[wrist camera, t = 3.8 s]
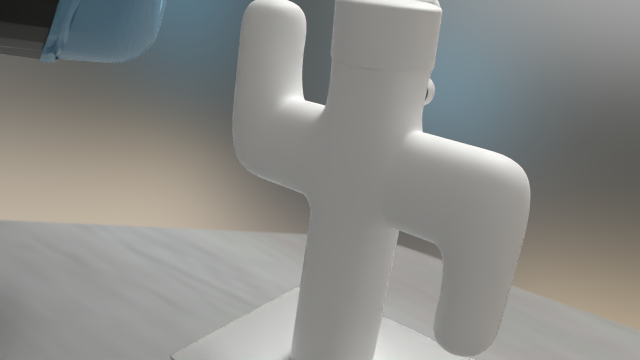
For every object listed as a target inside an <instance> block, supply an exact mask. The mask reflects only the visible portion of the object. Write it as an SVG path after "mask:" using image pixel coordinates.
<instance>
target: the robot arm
mask: <svg viewBox="0 0 640 360" xmlns="http://www.w3.org/2000/svg"><path fill="white" fill-rule="evenodd" d="M165 4H166V0H0V54H6V55H13V56H20V57H28V58H35V59H40V60H41V61H42V62H46V63H48V62H51V63H52V62H55V61H56V60H57V59H68V60H83V61H96V62H108V63H120V62H126V61H130V60H133V59H134V58H136V57H138V56H139V55H141V54H143V53H144V52H146V51H147V50H148V49H149V47H150V46H151V45H152V43H153V42H154V40H155V38H156V36H157V34H158V31H159V27H160V24H161V20H162V17H163V13H164V8H165Z"/></svg>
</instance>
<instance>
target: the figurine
mask: <svg viewBox="0 0 640 360" xmlns="http://www.w3.org/2000/svg"><path fill="white" fill-rule="evenodd" d="M441 17H442V9H441V8H440V5H439V2H438V0H335V10H334V23H333V36H332V47H331V57H332V68H331V77H330V85H329V92H328V99H327V103H326V106H324V105H320V104H317V103H313V102H309V101H305V100H304V96H303V89H302V62H303V51H304V43H305V36H306V19H305V15H304V13H303V11H302V10H301V8H300V7H298V6H297V5H296V4H294V3H292V2H290V1H288V0H255V1H253V2H252V3H251V4H249V6H248V7H247V9H246V10H245V13H244V15H243V19H242V24H241V33H240V43H239V54H238V64H237V75H236V86H235V96H234V107H233V143H234V148H235V152H236V155H237V157H238V159H239V161H240V163H241V164H242V165H243V166H244V167H245V168H246V169H247V170H248V171H249V172H251V173H253V174H255V175H256V176H259V177H261V178H263V179H266V180H269V181H271V182H274V183H276V184H279V185H282V186H284V187H287V188H290V189H292V190H295V191H297V192H300V193H303V194H304V195H305V196H306V197H307V199H308V202H309V205H310V210H311V215H310V222H309V229H308V236H307V243H306V249H305V256H304V263H303V270H302V277H301V284H300V286H298V287H296V288H295V289H293V290H291V291H289V292H287V293H285V294H283V295H282V296H280V297H278V298H276V299H274V300H272V301H270V302H268V303H267V304H265V305H263V306H261V307H259V308H257V309H255V310H254V311H252V312H250V313H248V314H246V315H244V316H242V317H241V318H239V319H237V320H235V321H233V322H231V323H229V324H227V325H226V326H224V327H222V328H220V329H218V330H216V331H214V332H213V333H211V334H209V335H207V336H205V337H203V338H201V339H199V340H198V341H196V342H194V343H192V344H190V345H188V346H186V347H185V348H183V349H181V350H179V351H177V352H175V353H173V354H172V355H170V358H171V359H172V360H474V359H472V358H470V357H471V356H475V355H478V354H480V353H482V352H483V351H485V350H486V349H487V348H488V347H489V346H490V345H491V344H492V342H493V341H494V339H495V337H496V335H497V333H498V330H499V327H500V324H501V320H502V317H503V313H504V309H505V306H506V302H507V298H508V295H509V291H510V287H511V284H512V280H513V276H514V273H515V269H516V265H517V262H518V258H519V254H520V250H521V247H522V243H523V239H524V234H525V231H526V226H527V220H528V216H529V208H530V186H529V181H528V178H527V176H526V174H525V172H524V170H523V169H522V168H521V167H520V166H519V165H518V164H517V163H516V162H514V161H513V160H511V159H510V158H508V157H506V156H504V155H501V154H499V153H495V152H493V151H489V150H485V149H482V148H478V147H474V146H471V145H467V144H463V143H460V142H456V141H452V140H449V139H445V138H442V137H438V136H434V135H430V134H427V133H423V131H422V113H423V107H424V105H426V104H428V103H429V102H430V101H431V100H432V98H433V96H434V93H435V87H434V84H433V82H432V80H431V79H430V75H431V72H432V70H433V69H434V64H435V58H436V50H437V44H438V38H439V31H440V25H441ZM399 230H400V231H403V232H406V233H408V234H411V235H413V236H416V237H419V238H422V239H424V240H427V241H429V242H432V243H434V244H436V245H437V246H438V248H439V250H440V252H441V255H442V260H443V276H442V285H441V291H440V296H439V301H438V306H437V310H436V314H435V319H434V335H435V338H436V340H437V342H436V341H434V340H432V339H430V338H428V337H426V336H424V335H422V334H419V333H417V332H415V331H413V330H411V329H409V328H407V327H405V326H403V325H401V324H398V323H396V322H394V321H392V320H390V319H388V318H386V317H384V316H382V314H383V309H384V304H385V299H386V293H387V288H388V283H389V278H390V273H391V268H392V263H393V258H394V253H395V248H396V243H397V238H398V233H399Z"/></svg>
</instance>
